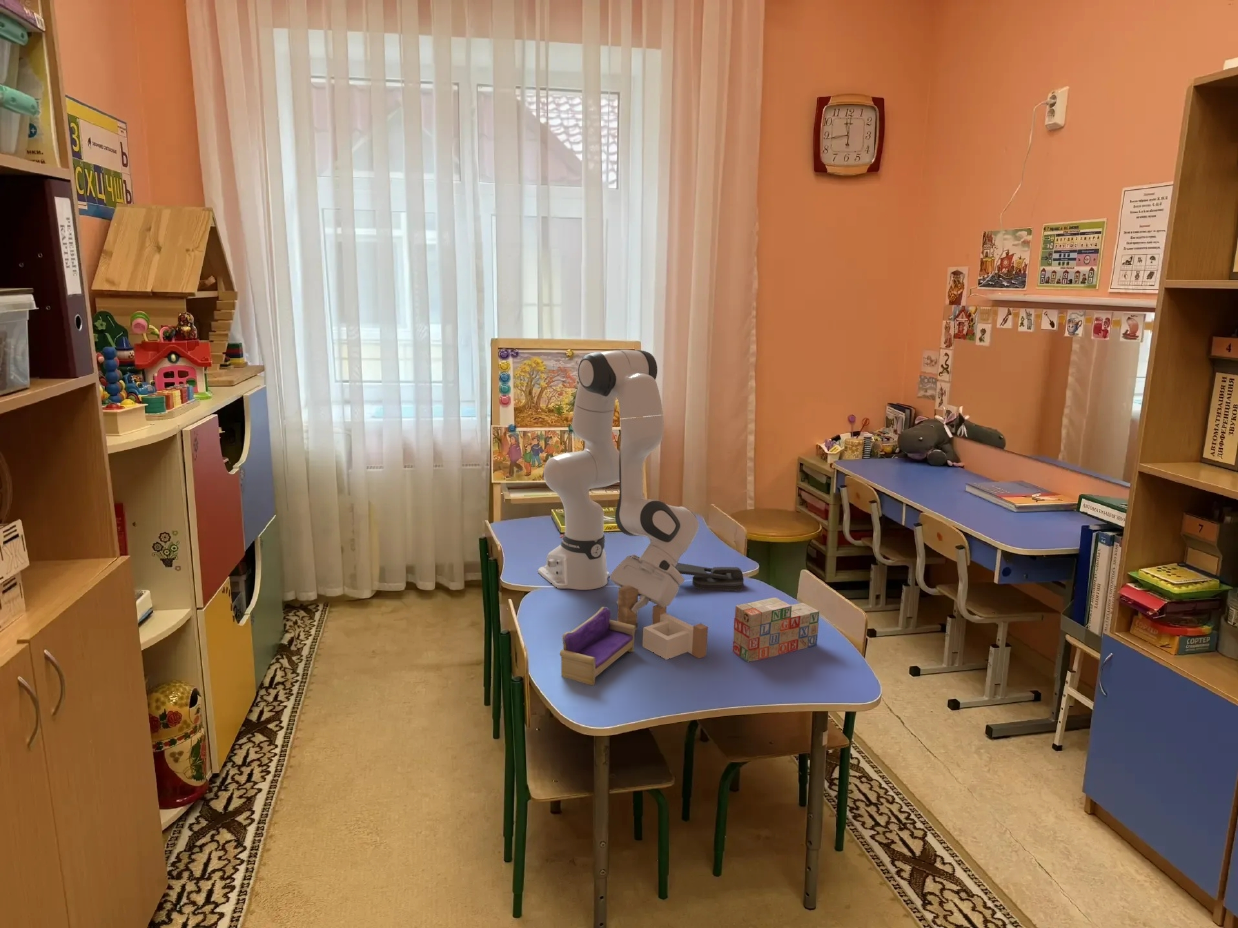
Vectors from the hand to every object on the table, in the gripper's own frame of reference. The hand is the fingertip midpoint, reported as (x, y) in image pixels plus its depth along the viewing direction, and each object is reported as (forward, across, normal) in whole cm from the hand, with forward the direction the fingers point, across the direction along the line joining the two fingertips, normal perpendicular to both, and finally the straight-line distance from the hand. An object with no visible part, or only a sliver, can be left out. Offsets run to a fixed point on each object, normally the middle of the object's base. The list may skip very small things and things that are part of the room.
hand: (625, 608), depth 210 cm
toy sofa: (+16, +10, -7) cm, 21 cm away
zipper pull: (-23, -11, +32) cm, 40 cm away
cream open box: (+3, +14, +5) cm, 15 cm away
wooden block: (+4, 0, +5) cm, 6 cm away
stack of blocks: (-12, +30, +21) cm, 38 cm away
